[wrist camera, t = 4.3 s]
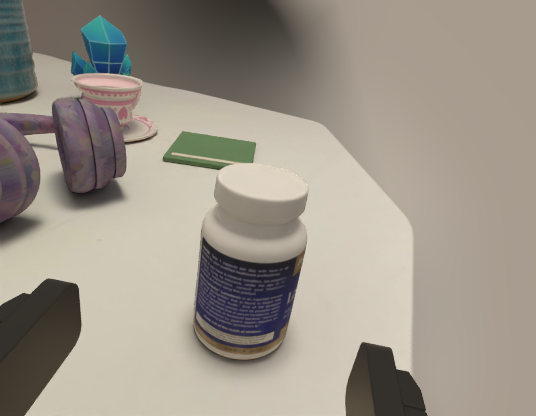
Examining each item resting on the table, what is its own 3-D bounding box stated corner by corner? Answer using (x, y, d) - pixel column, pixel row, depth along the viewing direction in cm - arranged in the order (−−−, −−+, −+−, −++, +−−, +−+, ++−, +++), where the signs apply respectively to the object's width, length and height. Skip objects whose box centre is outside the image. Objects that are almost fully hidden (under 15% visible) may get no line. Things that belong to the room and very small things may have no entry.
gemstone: (70, 95, 63) (64, 10, 57) (126, 95, 68) (125, 17, 62) (82, 109, 58) (77, 17, 52) (142, 107, 63) (142, 24, 57)
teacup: (99, 152, 45) (96, 96, 42) (36, 122, 50) (31, 71, 48) (176, 133, 55) (178, 87, 52) (117, 110, 60) (116, 67, 57)
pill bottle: (299, 357, 23) (338, 205, 19) (200, 371, 22) (217, 206, 17) (269, 292, 28) (295, 158, 24) (186, 299, 26) (197, 155, 22)
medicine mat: (255, 145, 55) (256, 141, 55) (250, 174, 46) (251, 169, 46) (182, 134, 55) (182, 130, 54) (162, 160, 46) (162, 155, 45)
